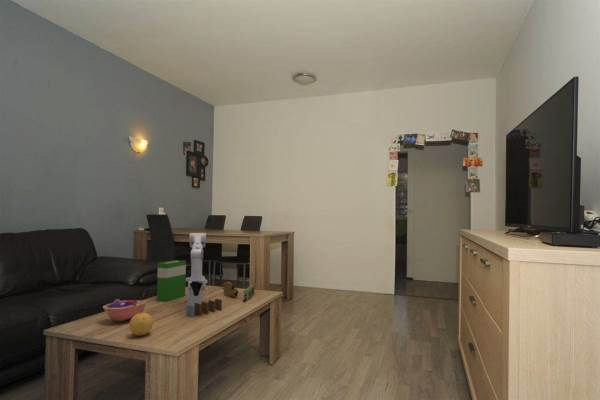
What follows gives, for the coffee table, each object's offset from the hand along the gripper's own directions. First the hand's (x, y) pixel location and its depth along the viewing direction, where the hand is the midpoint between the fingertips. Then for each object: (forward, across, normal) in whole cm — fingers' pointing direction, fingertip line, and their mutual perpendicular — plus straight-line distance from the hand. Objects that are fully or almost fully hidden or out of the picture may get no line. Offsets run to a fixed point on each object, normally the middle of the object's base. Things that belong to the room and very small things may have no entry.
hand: (196, 295), depth 192 cm
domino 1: (+10, 0, -4) cm, 11 cm away
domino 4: (+10, +2, +9) cm, 14 cm away
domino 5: (+10, +3, +14) cm, 18 cm away
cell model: (+11, -24, -26) cm, 37 cm away
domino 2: (+10, +1, +1) cm, 10 cm away
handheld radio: (+11, 0, +46) cm, 47 cm away
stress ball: (+10, +3, -36) cm, 38 cm away
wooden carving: (+11, -13, +42) cm, 45 cm away
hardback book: (+11, -42, +18) cm, 47 cm away
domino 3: (+10, +2, +5) cm, 12 cm away
